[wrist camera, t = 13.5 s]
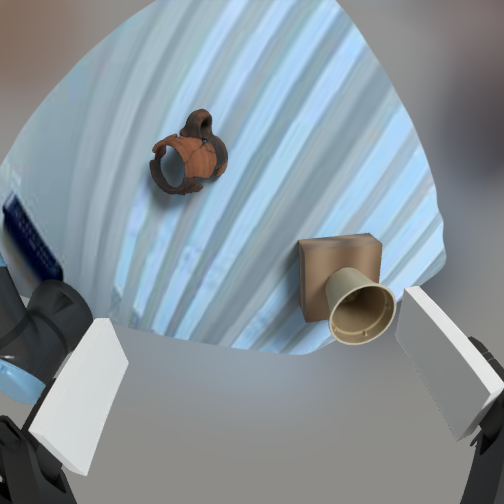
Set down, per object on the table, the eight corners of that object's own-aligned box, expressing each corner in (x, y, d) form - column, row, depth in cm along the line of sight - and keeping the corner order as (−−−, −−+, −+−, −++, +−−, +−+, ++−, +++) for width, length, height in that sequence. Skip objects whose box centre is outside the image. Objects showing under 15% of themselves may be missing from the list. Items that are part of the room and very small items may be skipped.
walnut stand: (300, 305, 48) (305, 322, 44) (298, 240, 44) (304, 252, 39) (364, 296, 48) (375, 311, 44) (369, 233, 44) (382, 243, 39)
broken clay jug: (226, 192, 41) (191, 211, 35) (178, 172, 44) (141, 186, 38) (244, 114, 34) (206, 117, 28) (189, 100, 37) (148, 103, 31)
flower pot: (310, 263, 40) (326, 294, 32) (371, 249, 39) (397, 276, 31) (317, 316, 44) (331, 352, 36) (372, 302, 43) (394, 334, 35)
